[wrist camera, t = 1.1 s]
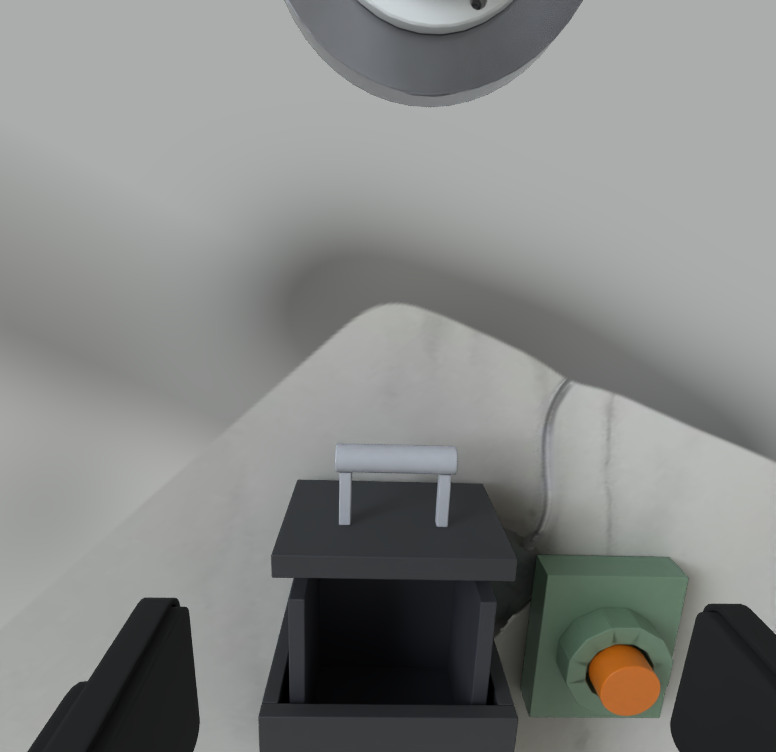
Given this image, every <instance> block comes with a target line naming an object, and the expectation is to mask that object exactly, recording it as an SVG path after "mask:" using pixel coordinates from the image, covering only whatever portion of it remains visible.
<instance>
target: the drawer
mask: <svg viewBox="0 0 776 752" xmlns="http://www.w3.org/2000/svg"><path fill="white" fill-rule="evenodd" d="M457 467H458V453H457V449H456V447H455V446H426V445H385V444H345V443H338V444H337V445H336V453H335V470H336V471H337V472H340V481H331V480H297V483H296V486H295V489H294V491H293V494H292V497H291V500H290V503H289V506H288V509H287V512H286V515H285V517H284V520H283V523H282V526H281V529H280V532H279V535H278V538H277V541H276V543H275V546H274V549H273V552H272V555H271V565H272V577H275V578H294V579H293V583H292V587H291V591H290V594H289V598H288V625H289V693H290V704H400V705H486V703H487V693H488V684H489V674H490V664H491V655H492V645H493V635H494V626H495V616H496V606H497V602H496V599H495V596H494V593H493V590H492V587H491V585H490V582H489V581H515V579H516V570H517V561H518V560H517V557H516V555H515V553H514V551H513V549H512V546H511V544H510V542H509V540H508V538H507V536H506V533H505V531H504V529H503V527H502V525H501V523H500V521H499V518H498V516H497V514H496V512H495V510H494V508H493V505H492V503H491V501H490V499H489V497H488V495H487V492H486V490H485V488H484V486H483V484H465V483H451V474H456V472H457ZM352 472H370V473H413V474H438V483H420V482H376V481H352Z"/></svg>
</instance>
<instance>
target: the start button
mask: <svg viewBox="0 0 776 752" xmlns="http://www.w3.org/2000/svg"><path fill="white" fill-rule="evenodd" d="M589 678H590V680H591V682H592V684H593V686H594V688H595V690H596V692H597V694H598V696H599V698H600V700H601V702H602V704H603V705H604V707H605V708H606V709H607V710H609V711H610V712H612V713H614V714H617V715H621V716H632V715H637V714H640V713H642V712H644V711H646V710H647V709H649V708H650V707H651V706H652V705H653V704H654V703H655V702H656V700H657V699H658V697H659V694H660V681H659V679H658V677H657V675H656V674H655V672H654V671H653V669H652V668H651V666H650V665H649V663H648V662H647V660H646V659H645V657H644V656H643V654H642V653H641V652H640V651H639V650H637V649H636V648H634V647H632V646H629V645H622V644H620V645H613V646H610V647H608V648H606V649H603V650H601V651H600V652H598V653H597V654H596V655H595V656H594V658H593V659H592V661H591V663H590V666H589Z"/></svg>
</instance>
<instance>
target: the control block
mask: <svg viewBox="0 0 776 752" xmlns="http://www.w3.org/2000/svg"><path fill="white" fill-rule="evenodd" d="M688 579H689V578H688V576H687V575H686V574H685V573H684V572H683V571H682V570H681V569H680V568H679V567H678V566H677V565H676V564H675V563H674V562H673V561H672V560H671V559H670V558H669V557H631V556H575V555H537V558H536V566H535V574H534V582H533V590H532V598H531V607H530V615H529V623H528V631H527V639H526V647H525V655H524V664H523V672H522V680H521V688H520V690H521V693H522V696H523V699H524V702H525V705H526V708H527V711H528V714H529V717H605V718H659V717H660V713H661V708H662V704H663V699H664V694H665V689H666V687H667V686H668V684H669V679H670V674H671V669H672V665H673V659H672V656H673V651H674V646H675V642H676V637H677V632H678V627H679V622H680V618H681V613H682V608H683V603H684V599H685V594H686V589H687V584H688ZM620 644H622V645H629V646H632V647H634V648H636V649H637V650H639V651H640V652H641V653H642V654H643V656H644V657H645V659H646V660H647V662H648V663H649V665H650V666H651V668H652V669H653V671H654V672H655V674H656V675H657V677H658V679H659V681H660V694H659V697H658V699H657V700H656V702H655V703H654V704H653V705H652V706H651V707H650V708H649V709H647V710H646V711H644V712H642V713H640V714H637V715H632V716H621V715H617V714H614V713H612V712H610V711H609V710H607V709H606V708H605V707H604V705H603V704H602V702H601V700H600V698H599V696H598V694H597V692H596V690H595V688H594V686H593V684H592V682H591V680H590V678H589V666H590V663H591V661H592V659H593V658H594V656H595V655H596V654H597V653H598V652H600V651H601V650H603V649H606V648H608V647H610V646H613V645H620Z"/></svg>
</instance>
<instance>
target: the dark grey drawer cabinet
mask: <svg viewBox="0 0 776 752" xmlns="http://www.w3.org/2000/svg"><path fill="white" fill-rule="evenodd" d="M258 718H259V747H260V752H514V749H515V741H516V733H517V724H518V717H517V714H516V710H515V707H514V703H513V700H512V697H511V694H510V690H509V687H508V684H507V681H506V677H505V674H504V671H503V667H502V664H501V661H500V658H499V654H498V651H497V648H496V645H495V641H494V638H493V645H492V655H491V664H490V674H489V684H488V693H487V703H486V705H400V704H290V693H289V625H288V603H287V606H286V610H285V614H284V618H283V622H282V626H281V630H280V634H279V638H278V642H277V646H276V650H275V654H274V658H273V662H272V666H271V670H270V674H269V677H268V681H267V685H266V689H265V693H264V697H263V701H262V705H261V709H260V713H259V717H258Z"/></svg>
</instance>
